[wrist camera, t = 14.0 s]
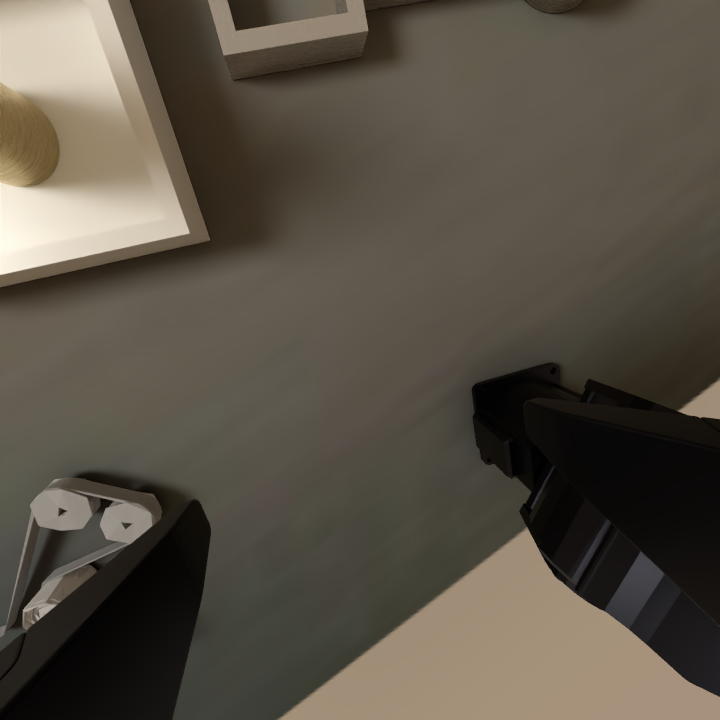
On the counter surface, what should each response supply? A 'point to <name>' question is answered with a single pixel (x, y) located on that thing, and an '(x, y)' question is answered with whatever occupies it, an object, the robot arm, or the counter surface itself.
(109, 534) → the pulley system
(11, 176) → the pin
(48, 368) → the counter surface
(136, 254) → the parts tray
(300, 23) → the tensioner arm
